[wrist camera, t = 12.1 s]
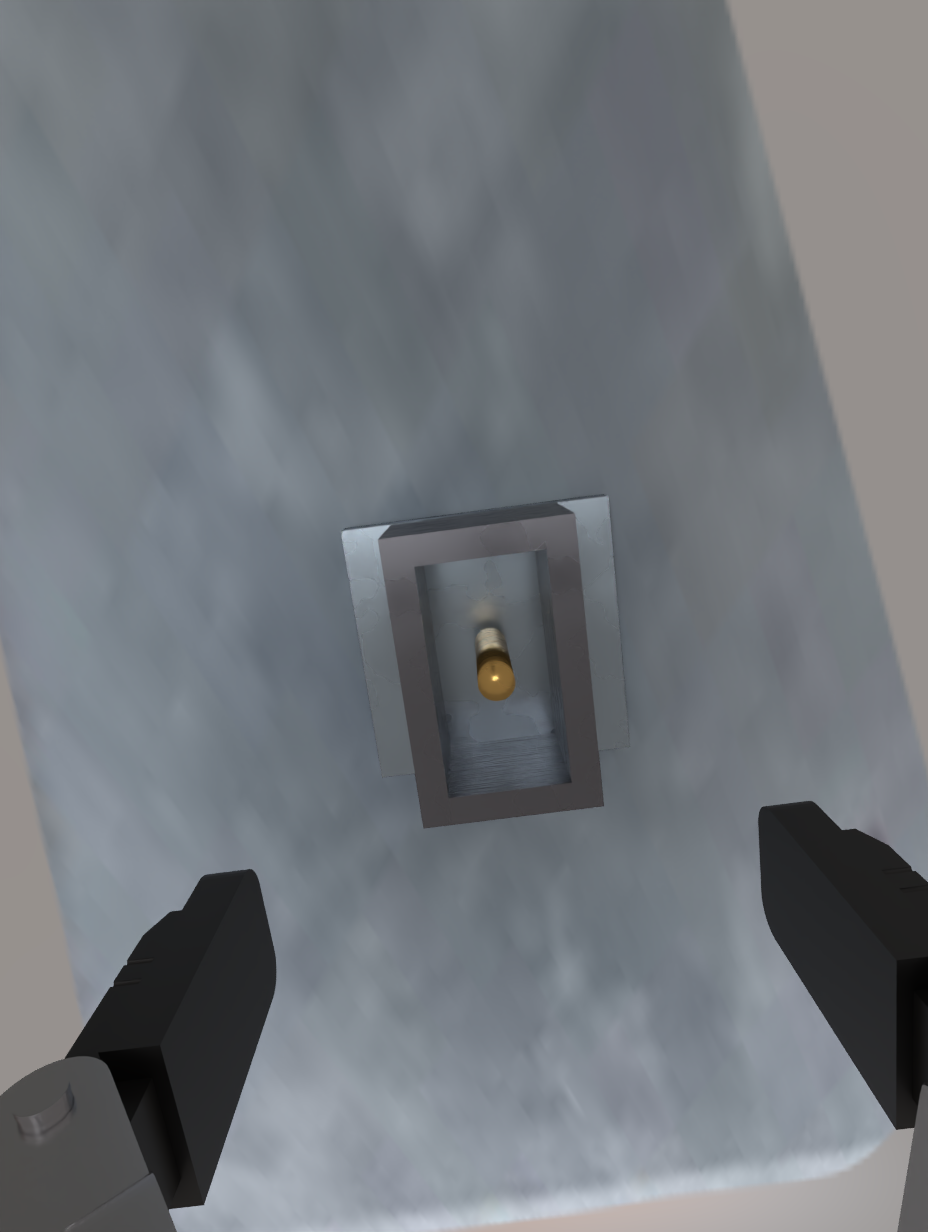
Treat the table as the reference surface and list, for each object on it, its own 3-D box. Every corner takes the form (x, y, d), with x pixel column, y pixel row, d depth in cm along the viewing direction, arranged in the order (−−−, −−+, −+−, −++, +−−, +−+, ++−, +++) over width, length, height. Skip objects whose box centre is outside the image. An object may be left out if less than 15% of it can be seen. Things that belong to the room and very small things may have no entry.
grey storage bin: (390, 524, 27) (377, 539, 23) (556, 502, 27) (575, 513, 23) (428, 771, 30) (423, 828, 25) (582, 752, 30) (603, 806, 25)
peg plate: (345, 528, 28) (315, 549, 23) (603, 494, 28) (640, 506, 22) (384, 767, 31) (366, 842, 25) (624, 737, 30) (663, 806, 25)
